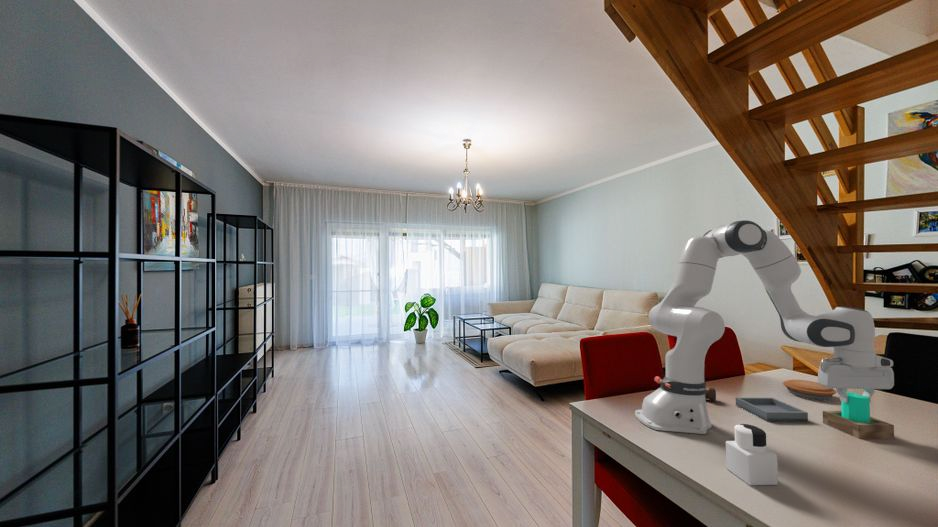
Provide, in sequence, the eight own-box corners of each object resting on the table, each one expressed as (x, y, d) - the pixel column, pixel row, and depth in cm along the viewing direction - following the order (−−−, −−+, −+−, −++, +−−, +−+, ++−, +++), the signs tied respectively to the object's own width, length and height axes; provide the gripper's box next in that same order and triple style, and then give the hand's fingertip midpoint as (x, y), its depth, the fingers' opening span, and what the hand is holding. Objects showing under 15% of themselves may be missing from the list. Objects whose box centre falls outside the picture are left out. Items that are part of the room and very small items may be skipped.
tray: (766, 421, 114) (766, 412, 114) (735, 405, 127) (735, 397, 127) (808, 421, 113) (807, 412, 114) (772, 405, 127) (772, 397, 127)
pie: (842, 398, 135) (842, 385, 135) (828, 405, 127) (828, 392, 127) (791, 386, 148) (791, 375, 148) (776, 393, 141) (775, 381, 141)
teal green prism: (862, 433, 103) (861, 394, 104) (836, 425, 109) (836, 387, 110) (875, 431, 105) (874, 392, 105) (849, 423, 111) (849, 386, 111)
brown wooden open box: (858, 438, 102) (858, 424, 102) (822, 422, 112) (822, 410, 113) (894, 438, 102) (893, 425, 102) (855, 423, 112) (854, 410, 112)
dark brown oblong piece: (672, 396, 142) (715, 405, 132) (668, 393, 139) (713, 401, 129) (673, 382, 144) (716, 390, 134) (670, 379, 141) (713, 386, 131)
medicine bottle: (752, 468, 87) (751, 420, 87) (779, 485, 80) (777, 433, 80) (725, 468, 87) (724, 421, 87) (749, 486, 79) (748, 434, 80)
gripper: (831, 360, 105) (832, 405, 104) (899, 361, 104) (900, 406, 104) (810, 355, 111) (811, 397, 111) (874, 356, 111) (876, 398, 110)
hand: (855, 402), depth 107 cm, fingers closed on teal green prism, 5 cm apart
